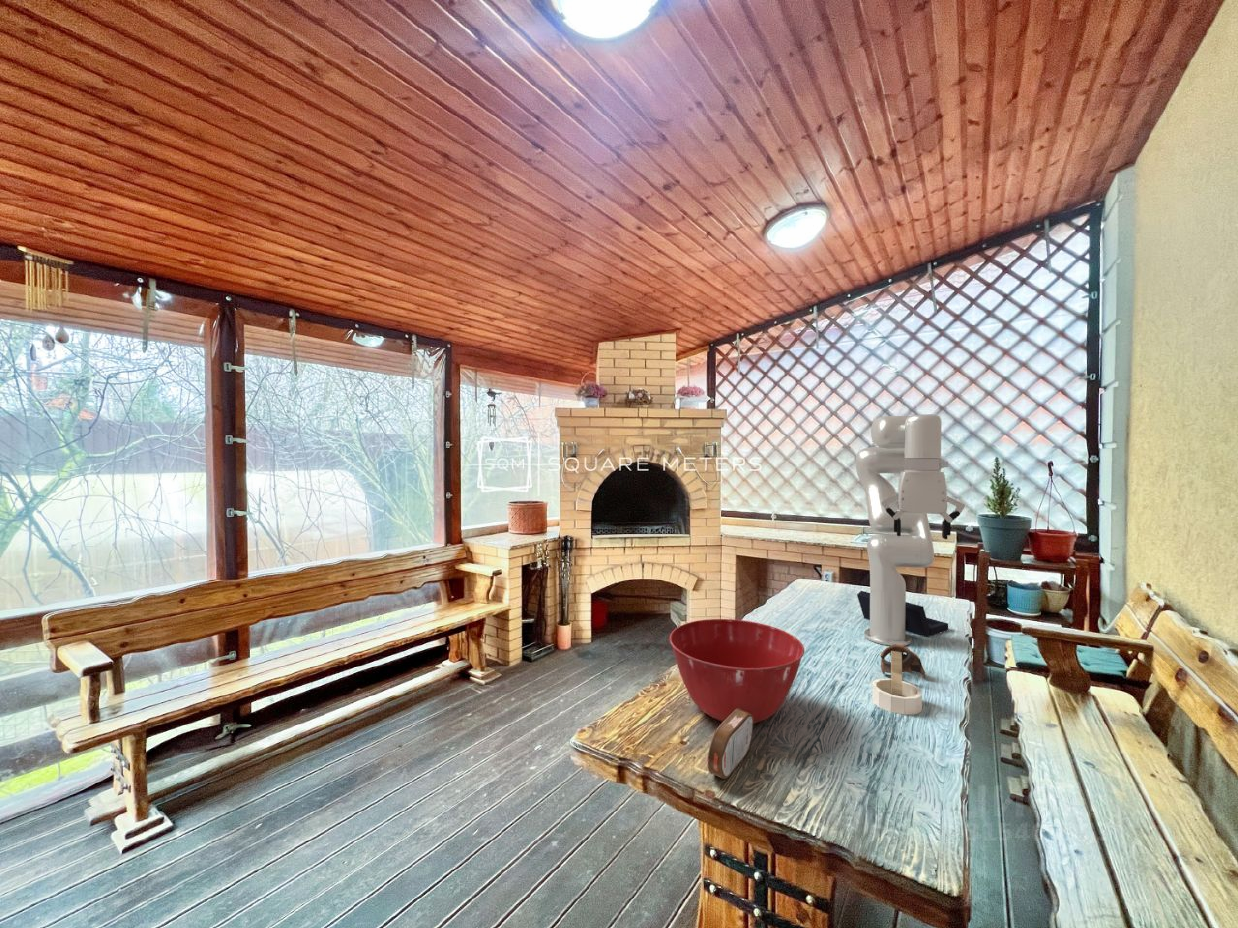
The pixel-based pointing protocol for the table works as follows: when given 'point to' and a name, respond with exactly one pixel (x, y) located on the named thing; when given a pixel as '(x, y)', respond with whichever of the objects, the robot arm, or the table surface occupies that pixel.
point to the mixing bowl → (736, 666)
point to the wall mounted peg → (896, 673)
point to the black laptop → (908, 617)
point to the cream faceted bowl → (897, 697)
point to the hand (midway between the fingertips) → (921, 536)
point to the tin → (730, 743)
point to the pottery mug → (908, 660)
